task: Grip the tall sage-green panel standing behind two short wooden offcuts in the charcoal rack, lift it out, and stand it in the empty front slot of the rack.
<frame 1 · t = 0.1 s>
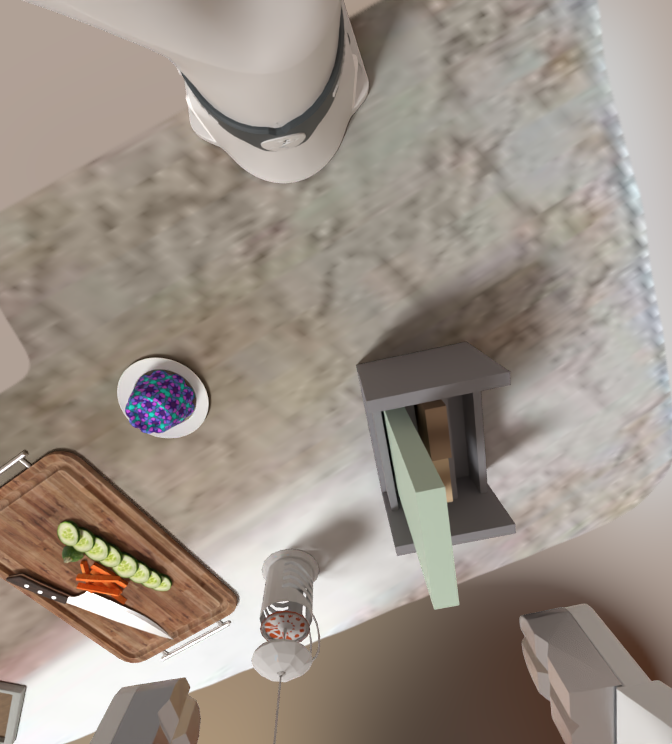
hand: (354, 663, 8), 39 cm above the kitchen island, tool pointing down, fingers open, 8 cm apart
tall panel: (394, 435, 49), point 1 cm above the kitchen island, touching rack
french press: (294, 572, 60), on the kitchen island
offcut oak: (426, 452, 51), point 1 cm above the kitchen island, touching rack
offcut walnut: (420, 404, 48), point 1 cm above the kitchen island, touching rack
chopping board: (107, 565, 59), on the kitchen island
pudding: (166, 396, 48), on the kitchen island
rack: (420, 424, 51), on the kitchen island
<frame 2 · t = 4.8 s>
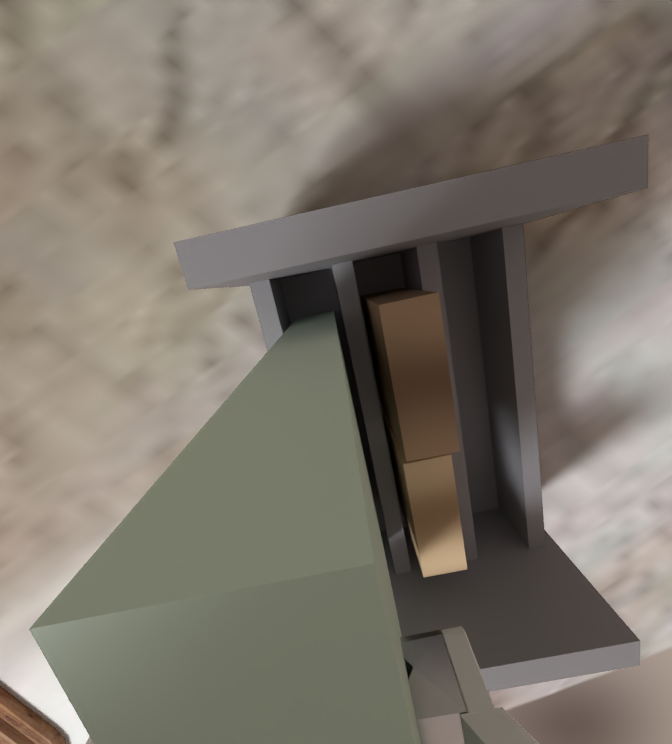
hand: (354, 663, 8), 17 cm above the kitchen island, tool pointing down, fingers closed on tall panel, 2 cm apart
tall panel: (338, 417, 23), point 2 cm above the kitchen island, touching gripper, rack
offcut oak: (408, 457, 24), point 1 cm above the kitchen island, touching rack
offcut walnut: (389, 346, 22), point 1 cm above the kitchen island, touching rack
rack: (395, 397, 25), on the kitchen island
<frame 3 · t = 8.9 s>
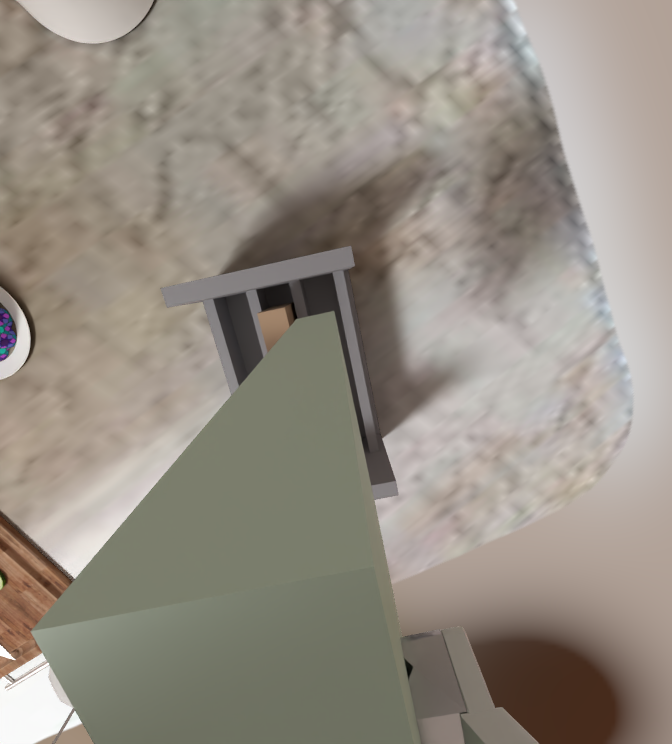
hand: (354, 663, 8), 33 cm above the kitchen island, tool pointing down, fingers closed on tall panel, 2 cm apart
tall panel: (338, 417, 23), point 17 cm above the kitchen island, touching gripper
french press: (163, 571, 48), on the kitchen island
offcut walnut: (291, 336, 38), point 1 cm above the kitchen island, touching rack
rack: (300, 367, 41), on the kitchen island
when the fingers open (19 cm above the kitchen island, at t = 12.9 s): tall panel drops 2 cm, resting on rack.
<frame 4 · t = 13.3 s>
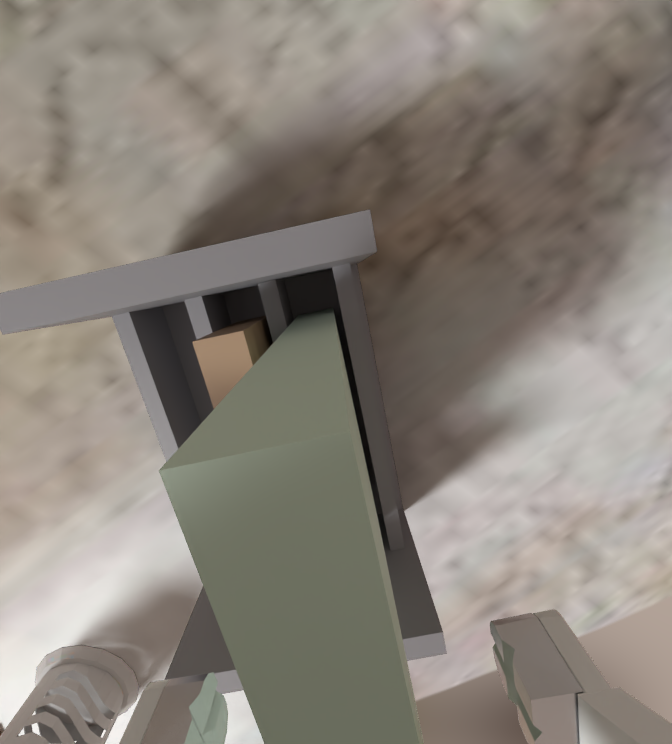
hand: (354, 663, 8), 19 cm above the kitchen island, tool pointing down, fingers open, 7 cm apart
tall panel: (337, 406, 25), point 1 cm above the kitchen island, touching rack
french press: (96, 687, 34), on the kitchen island
offcut walnut: (267, 367, 25), point 1 cm above the kitchen island, touching rack
rack: (284, 411, 27), on the kitchen island
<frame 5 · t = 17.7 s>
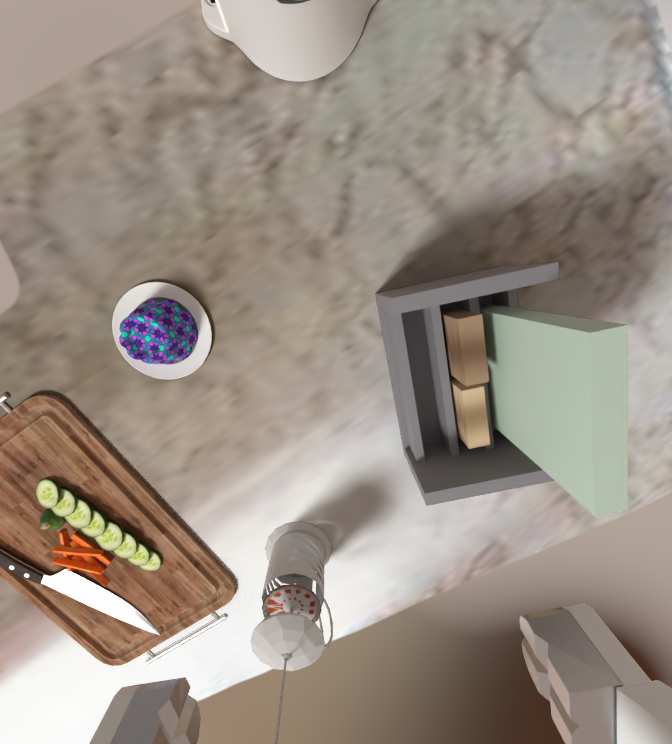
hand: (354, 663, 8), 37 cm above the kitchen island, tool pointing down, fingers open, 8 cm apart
tall panel: (484, 361, 43), point 1 cm above the kitchen island, touching rack
french press: (302, 552, 52), on the kitchen island
offcut oak: (455, 398, 45), point 1 cm above the kitchen island, touching rack
offcut walnut: (447, 338, 43), point 1 cm above the kitchen island, touching rack
chopping board: (90, 539, 52), on the kitchen island
pudding: (165, 331, 44), on the kitchen island
rack: (447, 366, 45), on the kitchen island
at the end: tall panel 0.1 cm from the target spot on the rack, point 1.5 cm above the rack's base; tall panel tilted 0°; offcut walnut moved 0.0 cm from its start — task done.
